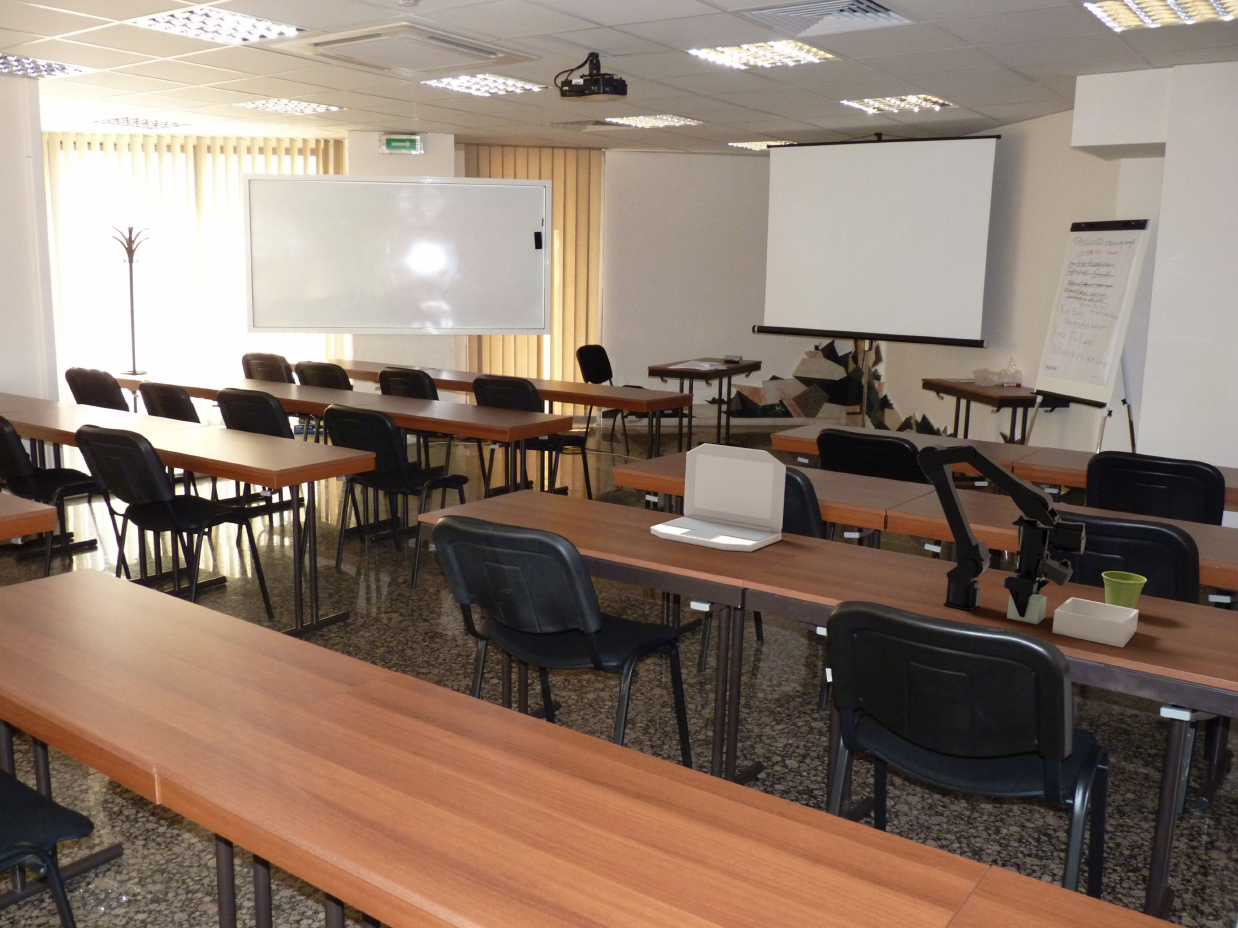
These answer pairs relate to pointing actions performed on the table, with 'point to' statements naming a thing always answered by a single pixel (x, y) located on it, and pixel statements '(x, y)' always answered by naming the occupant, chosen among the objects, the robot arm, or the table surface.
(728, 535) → the laptop
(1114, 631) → the big crate
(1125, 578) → the plant pot
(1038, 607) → the small crate
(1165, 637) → the table surface
